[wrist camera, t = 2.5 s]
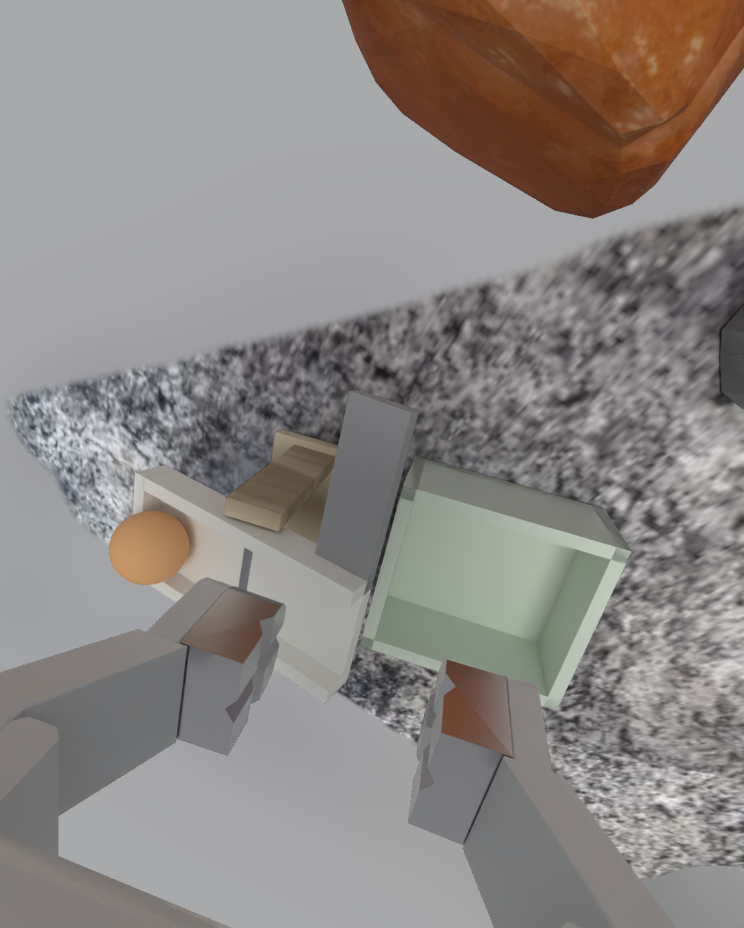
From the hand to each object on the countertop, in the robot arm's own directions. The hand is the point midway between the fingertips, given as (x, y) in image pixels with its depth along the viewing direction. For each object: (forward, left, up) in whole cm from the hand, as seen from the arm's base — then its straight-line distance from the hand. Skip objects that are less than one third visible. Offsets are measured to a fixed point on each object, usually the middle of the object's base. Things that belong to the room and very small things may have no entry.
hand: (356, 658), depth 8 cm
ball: (-10, +13, -14) cm, 22 cm away
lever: (-10, +8, -15) cm, 20 cm away
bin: (-10, -6, -25) cm, 28 cm away
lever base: (-10, +8, -25) cm, 28 cm away
